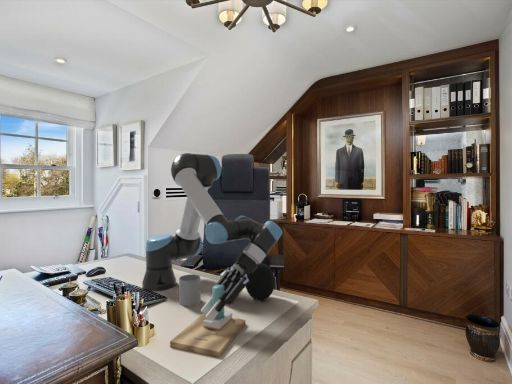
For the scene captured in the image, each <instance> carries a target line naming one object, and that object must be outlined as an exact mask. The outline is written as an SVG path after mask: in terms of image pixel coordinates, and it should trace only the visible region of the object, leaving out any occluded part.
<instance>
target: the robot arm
mask: <svg viewBox="0 0 512 384" xmlns="http://www.w3.org/2000/svg"><path fill="white" fill-rule="evenodd" d="M220 163H221V162H220V160H219V158H217V156H214V155H210V154H202V153H201V154H200V153H192V152H191V153H189V152H186V153H181V154H179V155H178V156H176V157H175V158H174V160H173V161H172V163H171V167H170V173H171V178H172V180H173V181H174V182H175V184H176V185H177V186H178V187H181V189H182V191H183V192H184V194H185V195H186V202H185V204H184V205H185V206H184V210H183V215H182V219H181V222H180V227H179V228H177V229H176V231H175V235H174V236H173V235H172V234H170V233H163V234H155V235H153V236H151V237H148V239H147V240H146V243H145V260H146V262H145V265H146V266H145V267H146V269H145V272H144V275H143V280H142V283H141V284H142V285H141V286H142V289H143V288H144V289H143V290H145V289H147V290H146V291H149V290H150V292H151V291H152V292H159V291H164V290H165V291H166V290H169V289H172V288H174V287H175V286H176V285H177V279H176V276H175V273H174V270H173V261H179V260H183V259H190V258H193V257H196V256H198V255H199V254H200V252H201V251H202V247H203V242H202V237H201V234H200V232H199V226H200V225H201V224H200V223H201V220H202V222H203V224H205V229H204V235H205V239H206V241H207V242H208V244H209V243H210V244H212V245H218V244H225V243H229V242H233V241H234V242H235V241H240V240H248V241H250V242H249V243H248V244H247V245H246V247H245V248H244V249H243V251H242V253H240V254H239V256H237V257H236V259H235V263H236V266H234V267H233V268H231V267H229V266H228V267H227V270H226V269H225V270H226V272H225V273H224V275H223V276H222V277H221V279H220V278H219V280H218V281H217V283H216V284H215V285H223V286H224V292H225V291H226V292H225V293H224V295H223V296H222V298H221V297H220V298H219V299H218V301H217V302H216V303H215V305H214V306H213V307H212V295H211V297H210V298H209V299H208V300H207V302H206V303H204V305H203V306H202V308H201V309H200V312H201V313H202V314H203V313H204V314H205V315H206V317H207V318H208V319H210V320H211V321H213V320H214V318H215V317H216V316H217V314H218V313H219V312H220V311H221V310H222V308H223V307H224V308H225V306H227V305H232V304H233V302H234V301H235V300H236V299H237V298H238V296H239V295H240V294H241V292H243V290H244V289H245V288H246V285H247V284H249V283H250V280H249V279H248V278H247V277H248V275H249V273H250V274H253V273H254V271H255V270H256V269H257V267H258V265H257V264H260V263H263V261H264V259H265V258H266V257H267V255H268V254H269V253H270V251H271V250H272V249H273V247H274V246H275V245H276V244H277V243H278V241H279V239H280V238H281V236H282V235H283V230H282V228H281V227H280V226H279V225H278V224H277V223H276V222H274V221H272V220H267V221H266V222H264V224H263V223H260V222H258V221H256V220H255V219H252V218H250V217H249V216H245V215H239V216H237V217H235V219H234V220H233V219H232V220H228V219H227V217H226V216H225V215H224V213H223V212H222V211H221V209H220V208H219V206H218V204H217V203H216V202H215V201H214V199H213V197H212V196H211V195H210V194H209V192H208V190H209V189H210V188H212V186H213V184H214V181H218V179H219V178H220V176H221V174H222V166H221V164H220Z"/></svg>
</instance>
